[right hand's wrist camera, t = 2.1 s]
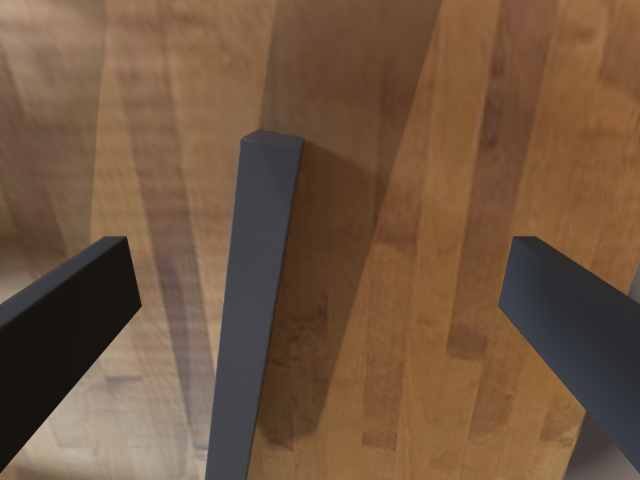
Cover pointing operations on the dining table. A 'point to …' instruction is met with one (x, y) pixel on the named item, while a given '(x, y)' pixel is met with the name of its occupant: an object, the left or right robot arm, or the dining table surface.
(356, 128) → the dining table surface
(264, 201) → the bar
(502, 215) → the dining table surface
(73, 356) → the right robot arm
